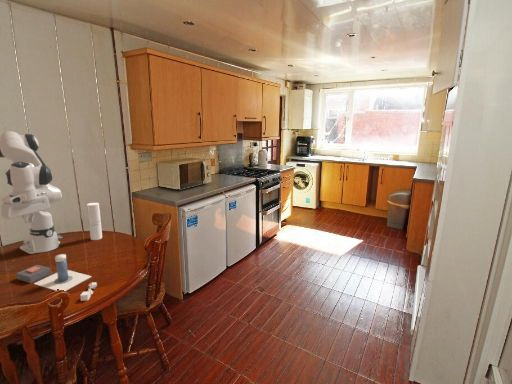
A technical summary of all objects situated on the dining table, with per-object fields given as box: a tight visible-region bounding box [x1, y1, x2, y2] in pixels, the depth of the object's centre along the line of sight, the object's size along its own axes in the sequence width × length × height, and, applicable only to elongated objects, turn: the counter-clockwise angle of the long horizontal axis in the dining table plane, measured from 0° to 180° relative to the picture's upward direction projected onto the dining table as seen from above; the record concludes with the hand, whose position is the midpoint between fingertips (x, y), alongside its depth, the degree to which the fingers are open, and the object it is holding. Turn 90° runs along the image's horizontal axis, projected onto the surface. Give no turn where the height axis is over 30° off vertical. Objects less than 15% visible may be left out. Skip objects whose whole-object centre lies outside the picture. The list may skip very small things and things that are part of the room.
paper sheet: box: [33, 269, 92, 292], centre depth 145 cm, size 20×16×1 cm
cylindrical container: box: [86, 202, 103, 241], centre depth 197 cm, size 7×7×25 cm
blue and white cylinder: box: [54, 253, 69, 282], centre depth 143 cm, size 5×5×13 cm
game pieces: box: [79, 281, 98, 302], centre depth 134 cm, size 12×3×3 cm, turn 10°
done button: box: [26, 266, 41, 274], centre depth 147 cm, size 4×4×3 cm
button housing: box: [16, 264, 52, 284], centre depth 147 cm, size 10×10×4 cm
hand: (29, 222), depth 142 cm, fingers closed
